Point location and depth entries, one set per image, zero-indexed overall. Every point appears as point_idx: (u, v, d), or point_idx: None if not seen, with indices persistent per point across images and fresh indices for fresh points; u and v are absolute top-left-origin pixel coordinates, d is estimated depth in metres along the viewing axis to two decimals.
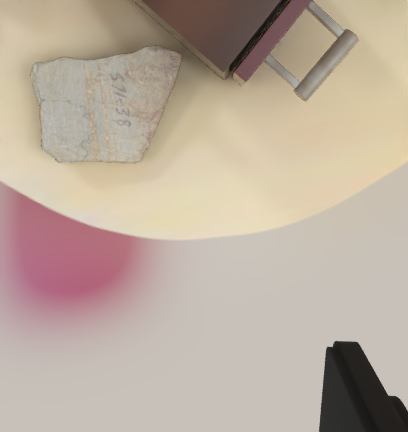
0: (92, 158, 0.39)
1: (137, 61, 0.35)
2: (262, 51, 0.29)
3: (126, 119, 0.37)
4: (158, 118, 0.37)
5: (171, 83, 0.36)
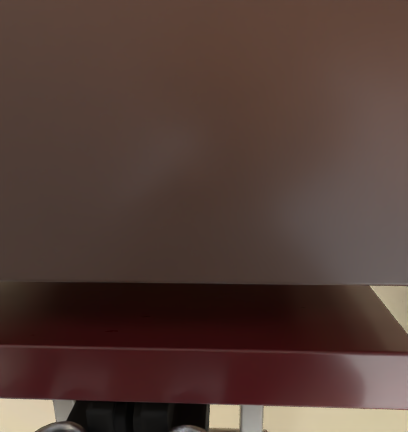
0: None
1: None
2: None
3: None
4: None
5: None
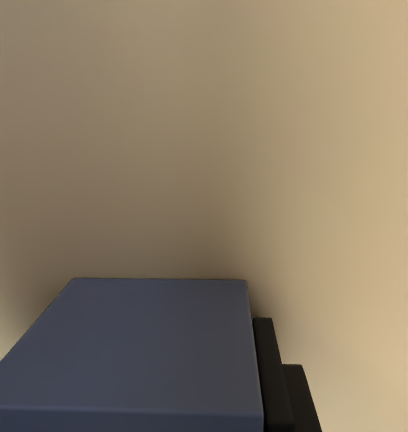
0: None
1: None
2: None
3: None
4: None
5: None
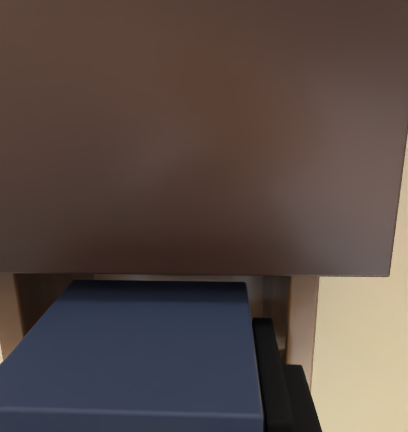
0: None
1: None
2: None
3: None
4: None
5: None
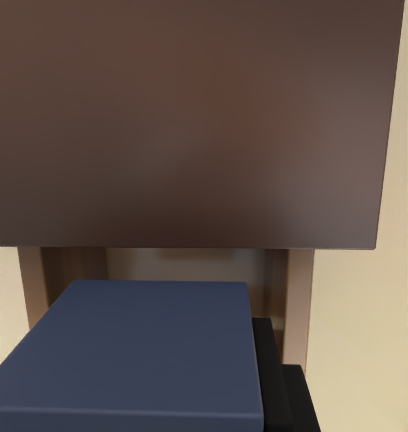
0: None
1: None
2: None
3: None
4: None
5: None
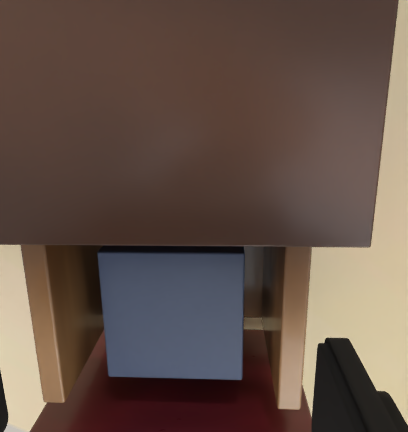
0: None
1: None
2: None
3: None
4: None
5: None
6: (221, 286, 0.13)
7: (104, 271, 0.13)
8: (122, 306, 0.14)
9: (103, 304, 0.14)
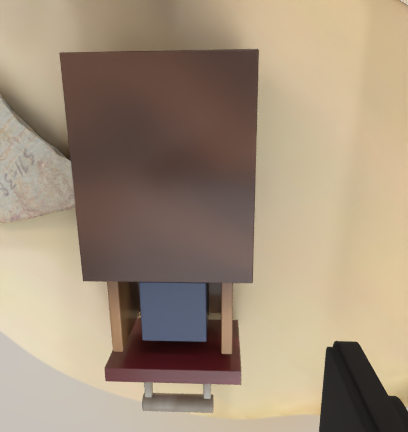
0: None
1: (57, 165, 0.31)
2: (136, 377, 0.30)
3: (6, 188, 0.33)
4: (34, 215, 0.33)
5: (69, 206, 0.33)
6: (195, 297, 0.29)
7: (142, 290, 0.29)
8: (150, 306, 0.29)
9: (141, 305, 0.29)
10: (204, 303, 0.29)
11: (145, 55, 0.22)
